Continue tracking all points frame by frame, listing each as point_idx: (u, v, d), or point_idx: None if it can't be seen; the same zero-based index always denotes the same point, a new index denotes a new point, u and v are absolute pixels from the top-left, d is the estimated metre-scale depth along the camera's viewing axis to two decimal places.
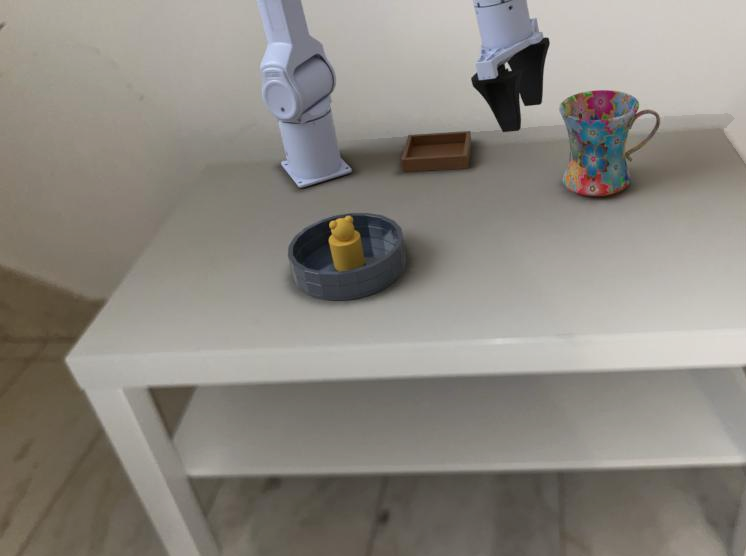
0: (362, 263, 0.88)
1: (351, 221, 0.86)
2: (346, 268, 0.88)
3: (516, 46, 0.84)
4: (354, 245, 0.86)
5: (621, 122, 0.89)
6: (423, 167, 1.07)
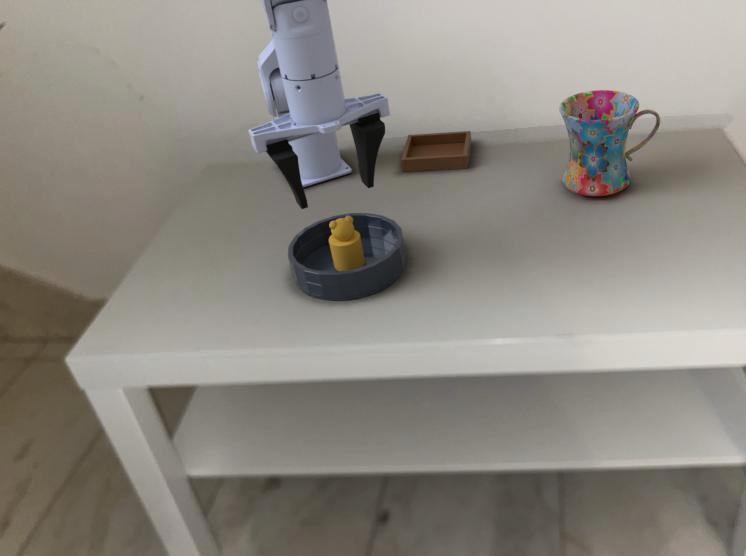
0: (362, 263, 0.88)
1: (351, 221, 0.86)
2: (346, 268, 0.88)
3: (298, 129, 0.76)
4: (354, 245, 0.86)
5: (621, 122, 0.89)
6: (423, 167, 1.07)
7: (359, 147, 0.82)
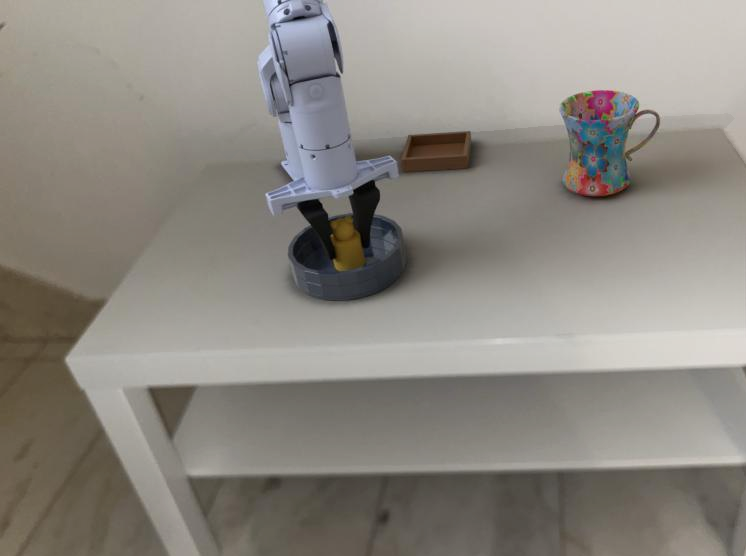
0: (362, 263, 0.88)
1: (351, 221, 0.86)
2: (346, 268, 0.88)
3: (313, 193, 0.80)
4: (355, 245, 0.86)
5: (621, 122, 0.89)
6: (423, 167, 1.07)
7: (355, 211, 0.86)
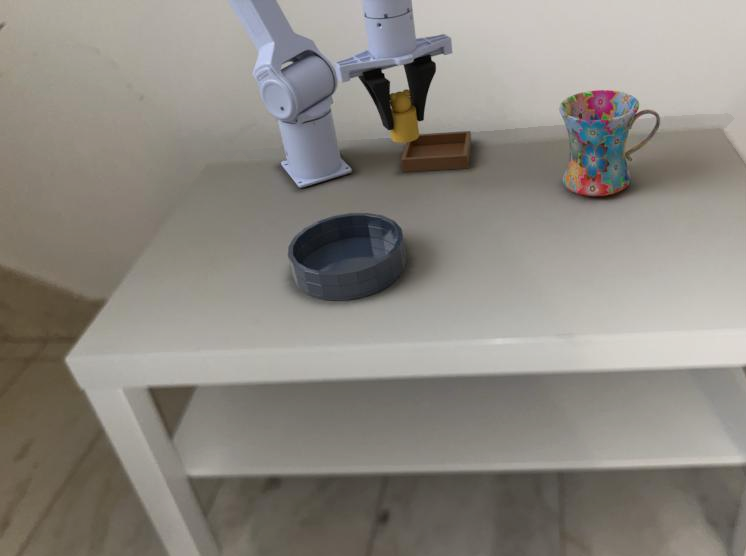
0: (417, 135, 0.97)
1: (408, 94, 0.95)
2: (403, 139, 0.97)
3: (377, 61, 0.89)
4: (411, 116, 0.95)
5: (621, 122, 0.89)
6: (423, 167, 1.07)
7: (412, 85, 0.95)
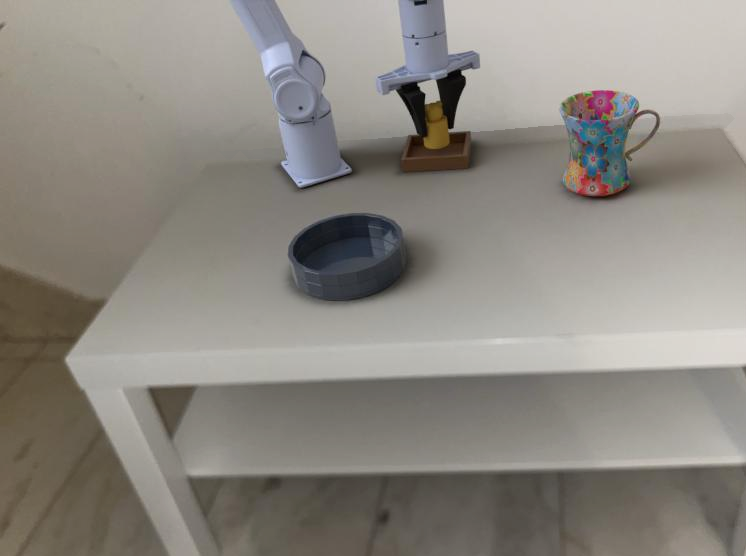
0: (448, 142, 1.08)
1: (441, 104, 1.05)
2: (435, 145, 1.07)
3: (414, 76, 0.99)
4: (443, 125, 1.05)
5: (621, 122, 0.89)
6: (423, 167, 1.07)
7: (443, 96, 1.05)
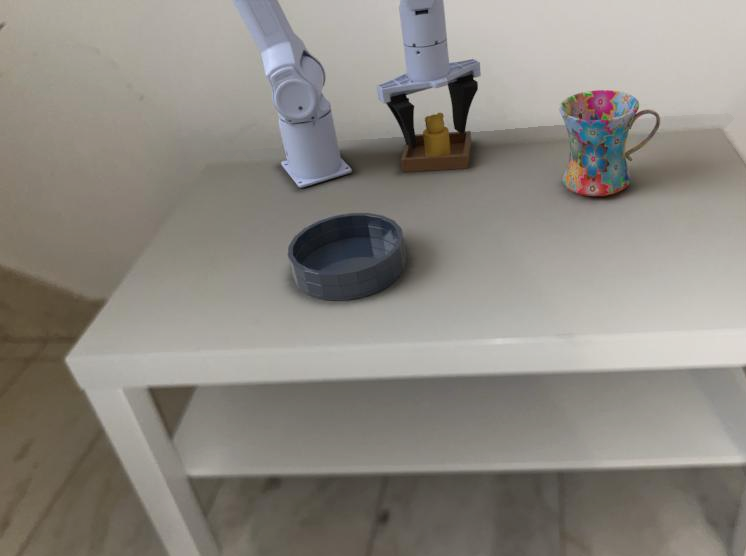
0: (449, 153, 1.09)
1: (442, 116, 1.06)
2: None
3: (415, 84, 1.00)
4: (444, 137, 1.07)
5: (621, 122, 0.89)
6: (423, 167, 1.07)
7: (455, 101, 1.07)
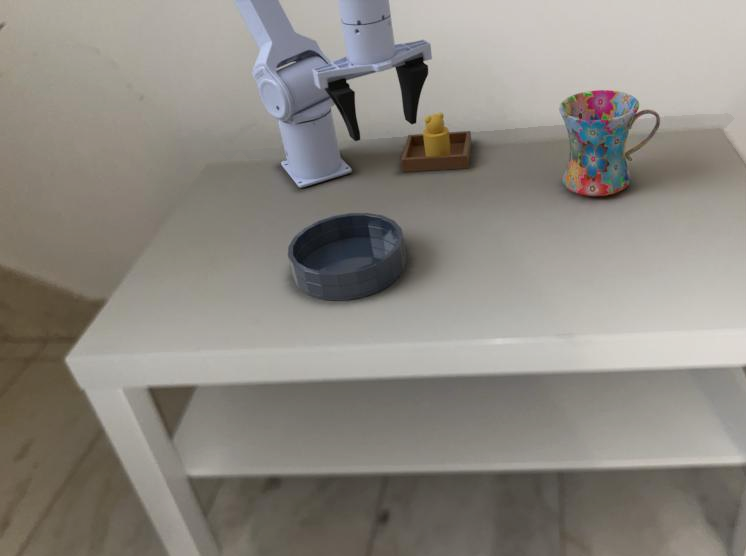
0: (449, 153, 1.09)
1: (442, 116, 1.06)
2: None
3: (355, 68, 0.88)
4: (444, 137, 1.07)
5: (621, 122, 0.89)
6: (423, 167, 1.07)
7: (404, 87, 0.95)
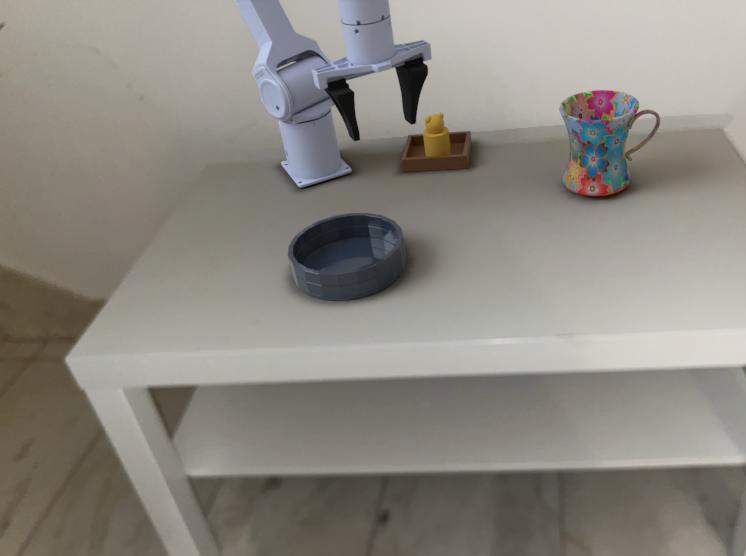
0: (449, 153, 1.09)
1: (442, 116, 1.06)
2: None
3: (355, 68, 0.88)
4: (444, 137, 1.07)
5: (621, 122, 0.89)
6: (423, 167, 1.07)
7: (404, 88, 0.95)
